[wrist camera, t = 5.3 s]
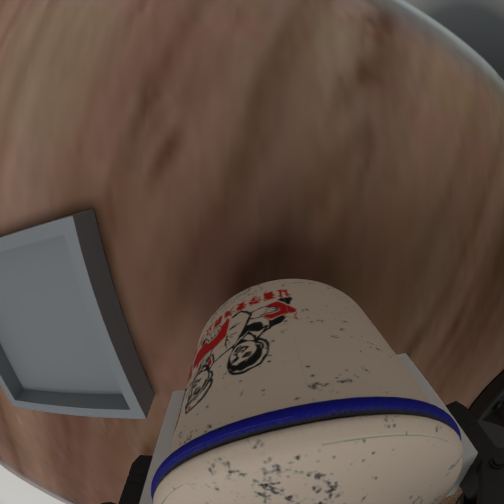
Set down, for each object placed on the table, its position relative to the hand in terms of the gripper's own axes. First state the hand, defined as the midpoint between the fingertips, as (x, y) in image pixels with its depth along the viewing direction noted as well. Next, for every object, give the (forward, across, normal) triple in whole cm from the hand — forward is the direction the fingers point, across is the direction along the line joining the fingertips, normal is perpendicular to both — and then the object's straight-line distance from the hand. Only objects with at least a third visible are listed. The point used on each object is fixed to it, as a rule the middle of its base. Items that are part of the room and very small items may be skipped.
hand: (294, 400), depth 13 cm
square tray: (+9, +19, -2) cm, 21 cm away
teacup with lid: (+2, +1, 0) cm, 3 cm away
